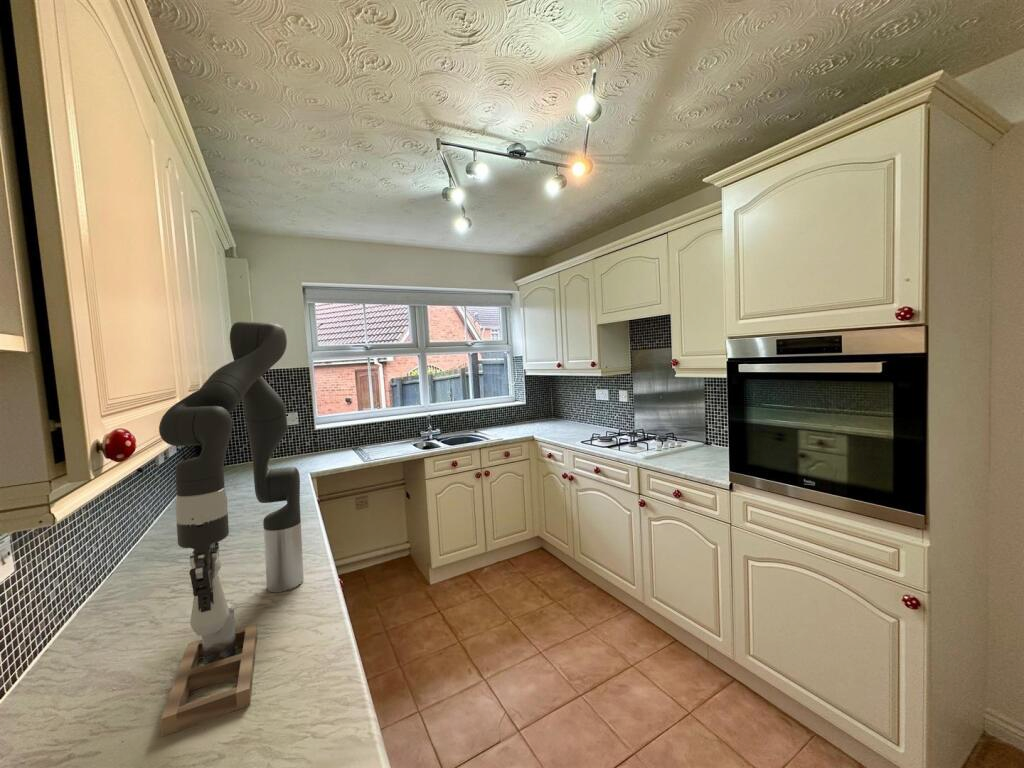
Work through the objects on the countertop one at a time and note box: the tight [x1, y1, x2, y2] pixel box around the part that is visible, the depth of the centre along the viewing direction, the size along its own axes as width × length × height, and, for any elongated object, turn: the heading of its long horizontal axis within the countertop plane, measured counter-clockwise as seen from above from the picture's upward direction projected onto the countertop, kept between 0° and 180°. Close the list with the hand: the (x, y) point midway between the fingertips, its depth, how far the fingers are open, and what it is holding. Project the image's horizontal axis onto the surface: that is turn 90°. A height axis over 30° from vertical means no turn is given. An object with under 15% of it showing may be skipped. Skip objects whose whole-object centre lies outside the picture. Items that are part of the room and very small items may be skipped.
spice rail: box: [160, 624, 258, 737], centre depth 81 cm, size 22×12×3 cm, turn 29°
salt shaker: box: [189, 558, 229, 637], centre depth 76 cm, size 6×6×13 cm
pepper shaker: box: [201, 607, 238, 665], centre depth 85 cm, size 6×6×10 cm
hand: (208, 606), depth 76 cm, fingers closed on salt shaker, 3 cm apart
